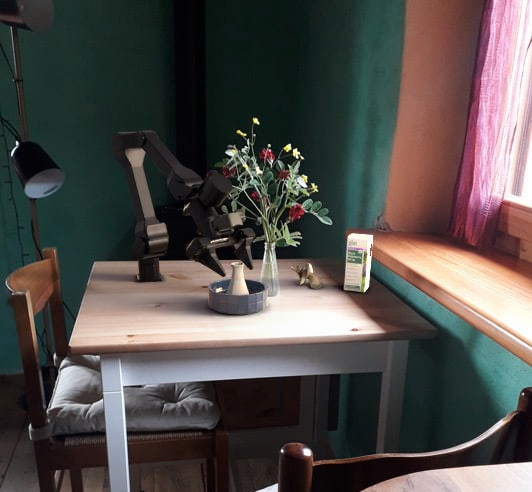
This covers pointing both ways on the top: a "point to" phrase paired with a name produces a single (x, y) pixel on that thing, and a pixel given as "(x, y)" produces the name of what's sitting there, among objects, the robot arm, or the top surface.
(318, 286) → the animal figurine
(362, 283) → the syrup box
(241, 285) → the flask
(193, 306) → the top surface
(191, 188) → the robot arm
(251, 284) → the blue faceted bowl
